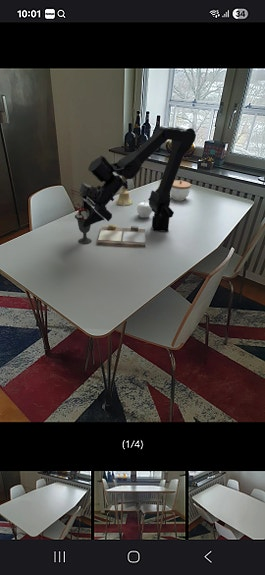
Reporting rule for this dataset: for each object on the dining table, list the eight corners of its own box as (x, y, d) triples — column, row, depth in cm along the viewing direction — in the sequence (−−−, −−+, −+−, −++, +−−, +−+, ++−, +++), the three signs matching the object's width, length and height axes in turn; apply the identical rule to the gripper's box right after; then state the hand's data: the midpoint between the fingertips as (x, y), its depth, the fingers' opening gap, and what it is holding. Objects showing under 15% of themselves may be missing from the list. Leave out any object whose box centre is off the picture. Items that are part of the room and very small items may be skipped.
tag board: (145, 231, 130) (145, 226, 129) (145, 247, 119) (145, 241, 117) (101, 228, 130) (101, 223, 129) (97, 244, 119) (97, 239, 117)
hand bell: (112, 203, 155) (112, 169, 146) (121, 198, 161) (122, 166, 152) (127, 207, 152) (128, 173, 143) (135, 202, 158) (137, 169, 149)
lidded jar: (164, 196, 167) (166, 178, 162) (180, 194, 171) (183, 176, 166) (175, 203, 159) (178, 184, 154) (192, 200, 164) (195, 182, 158)
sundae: (72, 242, 119) (70, 203, 110) (82, 235, 124) (81, 198, 115) (87, 246, 117) (85, 208, 108) (97, 239, 121) (96, 202, 113)
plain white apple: (133, 215, 143) (134, 198, 139) (145, 212, 147) (146, 195, 143) (143, 220, 139) (144, 203, 134) (155, 217, 143) (156, 200, 138)
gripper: (84, 168, 114) (56, 201, 117) (103, 183, 101) (72, 220, 103) (104, 187, 122) (78, 218, 124) (124, 204, 109) (95, 238, 111)
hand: (80, 223), depth 115 cm, fingers closed on sundae, 6 cm apart
